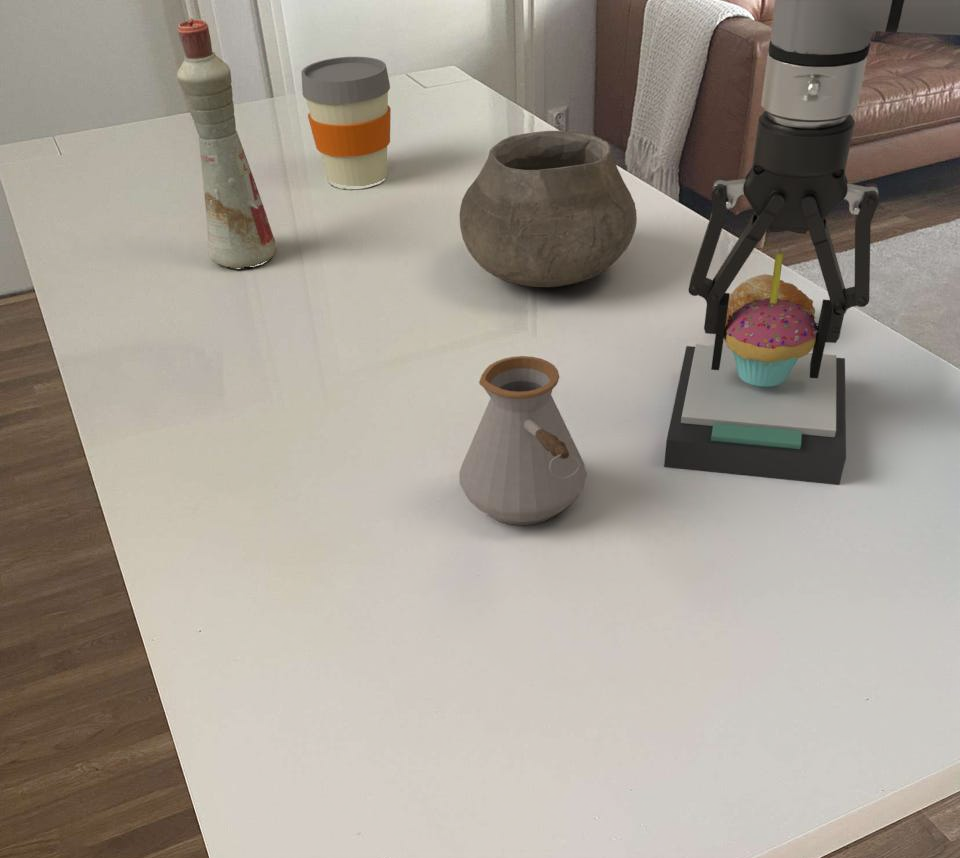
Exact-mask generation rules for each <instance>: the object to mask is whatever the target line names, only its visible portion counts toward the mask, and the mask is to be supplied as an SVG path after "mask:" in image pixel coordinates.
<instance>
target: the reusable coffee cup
mask: <svg viewBox="0 0 960 858" xmlns="http://www.w3.org/2000/svg"><path fill="white" fill-rule="evenodd" d="M301 88H302V89H301V90H302V96H303V98H304V99H305V100H306V104H307V108H308V112H309V113H308V115H307V118H308V122H309V126H310V130H311V133H312V137H313V140H314V145H315V148H316V150H317V151H318V152H319V153H320V156H321V160H322V163H323V164H322V165H323V168H324V171H325V175H326V178H328V179H327V181H328V180H330V181H331V182H333V183H336V184H340V185H346V186H366V185H370V184H374V183H377V182H379V181H382V180H383V179H385V178H386V177H387V178H388V146H389V145H390V143H391V107H390V105H388V104H389V91H390V89H391V84H390V79H389V73H388V67H387V64H386V63H385V62H384V61H383V60H382V59H381V60H380V59H378V58H373V57H369V56H341V57H333V58H328V59H323V60H318V61H316V62H313V63H311V64H310V63H309V64H308V65H307V66H305V67H304V68H303V69H302V70H301Z"/></svg>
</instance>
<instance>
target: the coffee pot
mask: <svg viewBox="0 0 960 858" xmlns="http://www.w3.org/2000/svg"><path fill="white" fill-rule="evenodd" d="M559 380H560V372H559V370H558V369H557V367H556V366H555V365H554V364H553V363H552V362H550V361H548V360H546V359H543V358H541V357H536V356H525V355H520V356H519V355H518V356H509V357H504V358H502V359H499V360H496V361H494V362H493V363H491V364H489V365H488V366H487V367H486V368H485V369H484V371H483V372H482V374H481V376H480V379H479V381H478V384H479V385H480V386H481V387H482V388H483V389H484V390H485V392H486V393H487V394H488V396H489V401H488V403H487V406H486V408H485V410H484V413H483V415H482V417H481V419H480V422H479V424H478V426H477V429H476V431H475V433H474V436H473V438H472V440H471V443H470V444H469V448H468V450H467V452H466V455H465V457H464V459H463V461H462V464H461V467H460V470H459V485H460V487H461V489H462V491H463V494H464V495H465V496H466V498H467V499H468V501H469V502H470V503H472V505H473V506H474V507H475V508H476V509H478V510H479V511H481V512H483V513H485V514H486V515H488V516H490V517H491V518H493V519H494V520H497V521H499V522H502V523H505V524H509V525H518V526H525V525H534V524H535V525H536V524H538V523H543V522H545V521H547V520H549V519H552V518H554V517H555V516H556V515H558V514H560V513H561V512H563V511H564V510H565V509H567V508H568V507H569V506H571V505H572V504H573V503H574V502H575V501H576V500H577V498H578V497H579V495H580V494H581V492H582V491H583V488H584V487H585V483H586V478H587V471H586V467H585V462H584V460H583V457H582V456H581V453H580V451H579V449H578V447H577V445H576V443H575V441H574V439H573V436H572V435H571V433H570V430H569V428H568V427H567V425H566V422H565V420H564V418H563V416H562V414H561V413H560V410H559V408H558V406H557V403H556V402H555V400H554V398H553V396H552V393H553V389H555V387H556V386H557V385H558V383H559Z"/></svg>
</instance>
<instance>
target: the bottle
mask: <svg viewBox="0 0 960 858" xmlns="http://www.w3.org/2000/svg"><path fill="white" fill-rule="evenodd" d="M177 27H178V28H177V33H178V37H179V40H180V43H181V46H182V49H183V52H184V54H185V56H184V60H183V62H182V63H181V65H180V66H179V68H178V70H177V73H176V78H177V81H178V84H179V87H180V90H181V91H182V93H183V97H184V100H185V102H186V105H187V106H188V111H189V113H190V116H191V118H192V120H193V124H194V127H195V129H196V132H197V135H198V146H199V155H200V164H201V174H202V185H203V194H204V205H205V215H206V228H207V241H208V242H207V247H208V257H209V260H210V261H211V262H213V263H215V264H217V265H219V266H222V267H225V268H228V267H230V268H229V269H235V268H242V269H245V268H244V267H250V266H255V265H257V264H261V263H263V262H265V261H268V260H269V259H270V260H272V259H273V257H272V256H274V254H275V252H276V248H277V243H276V239H275V237H274V234H273V231H272V228H271V225H270V222H269V219H268V215H267V212H266V210H265V207H264V204H263V200H262V198H261V195H260V192H259V189H258V187H257V183H256V181H255V177H254V175H253V172H252V170H251V166H250V164H249V161H248V159H247V155H246V153H245V149H244V147H243V145H242V142H241V138H240V135H239V133H238V130H237V125H236V117H235V103H234V100H233V97H234V96H233V95H234V94H233V85H232V73H231V68H230V66H229V65H228V64H227V63H226V62H225V61H224V60H223V59H222V58H221V57H219V56H217V55H216V52H214V51H213V47H212V39H211V35H210V29H209V25H208V23H207V22H206V21H205V20H202V19H194V18H192V17H190V18H188V20H186V21H183V22H180V23H178V26H177ZM271 258H272V259H271ZM270 260H269V261H270ZM269 261H268V262H269Z"/></svg>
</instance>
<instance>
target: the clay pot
mask: <svg viewBox="0 0 960 858" xmlns="http://www.w3.org/2000/svg"><path fill="white" fill-rule="evenodd" d="M637 221H638V217H637V208H636V203H635V201H634V199H633V197H632V194H631V192H630V190H629V188H628V187H627V185H626V183H625V181H624V179H623V177H622V174H621V172H620V171H619V168H618V166H617V163H616V159H615V156H614V153H613V149H612V145H611V144H610V143H609V142H608V141H607V140H603V138H600V137H597V136H595V135H592V134H587V133H583V132H578V131H569V130H541V131H532V132H527V133H520V134H515V135H511V136H508V137H507V138H504V139H502V140H500V141H499V142H497V143H496V144H494V145H493V146H491V149H490V150H489V152H488V156H487V159H486V161H485V162H484V164H483V166H482V168H481V170H480V172H479V174H478V175H477V177H476V178H475V180H474V181H473V182H472V183H471V184H470V186H468V188H467V189H466V191H465V193H464V195H463V197H462V200H461V203H460V208H459V227H460V233H461V238H462V241H463V243H464V245H465V247H466V249H467V252H468V253H469V254H470V255H471V257H472V258H473V260H474V261H475V262H476V263H477V264H478V265H479V266H480V267H481V268H482V269H483V270H485V271H486V272H488V273H489V274H491V276H494V277H496V278H498V279H500V280H502V281H506V282H509V283H513V284H517V285H520V286H525V287H533V288H555V287H556V288H557V287H564V286H567V285H573V284H579V283H581V282H585V281H588V280H590V279H592V278H594V277H597V276H598V275H600V274H602V273H604V272H605V271H606V270H608V269H609V268H610V267H611V266H612V265H614V263H616V262H617V261H618V259H619V258H620V257H621V256H622V255H623V254H624V252H625V251H627V249H628V247H629V246H630V243H631V242H632V239H633V237H634V234H635V232H636V228H637V223H638V222H637Z"/></svg>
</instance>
